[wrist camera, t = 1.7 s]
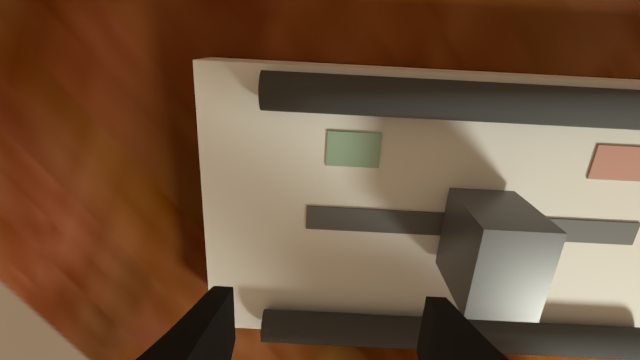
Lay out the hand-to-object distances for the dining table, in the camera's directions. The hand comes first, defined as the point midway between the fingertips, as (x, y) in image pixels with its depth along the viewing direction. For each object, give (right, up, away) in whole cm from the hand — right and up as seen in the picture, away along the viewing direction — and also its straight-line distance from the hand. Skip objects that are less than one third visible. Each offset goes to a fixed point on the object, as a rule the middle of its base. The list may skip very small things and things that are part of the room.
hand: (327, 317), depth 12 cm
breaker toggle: (+7, +2, +6) cm, 10 cm away
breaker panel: (+7, +3, +9) cm, 12 cm away
